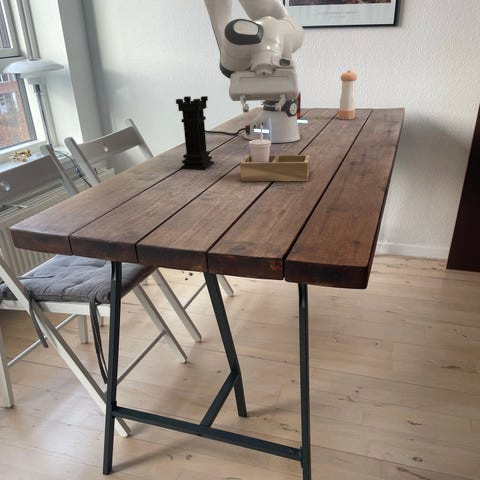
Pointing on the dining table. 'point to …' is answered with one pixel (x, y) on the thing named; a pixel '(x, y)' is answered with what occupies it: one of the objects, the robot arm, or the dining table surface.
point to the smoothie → (260, 149)
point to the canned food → (299, 105)
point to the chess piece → (194, 133)
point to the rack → (276, 168)
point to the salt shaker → (347, 96)
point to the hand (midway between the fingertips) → (261, 110)
